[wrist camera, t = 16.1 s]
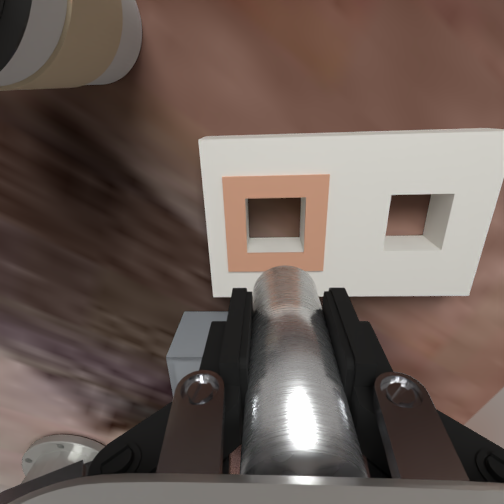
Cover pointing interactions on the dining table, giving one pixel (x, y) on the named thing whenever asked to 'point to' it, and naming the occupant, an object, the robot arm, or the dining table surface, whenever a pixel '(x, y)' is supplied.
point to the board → (354, 207)
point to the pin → (295, 386)
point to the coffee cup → (67, 42)
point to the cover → (190, 344)
